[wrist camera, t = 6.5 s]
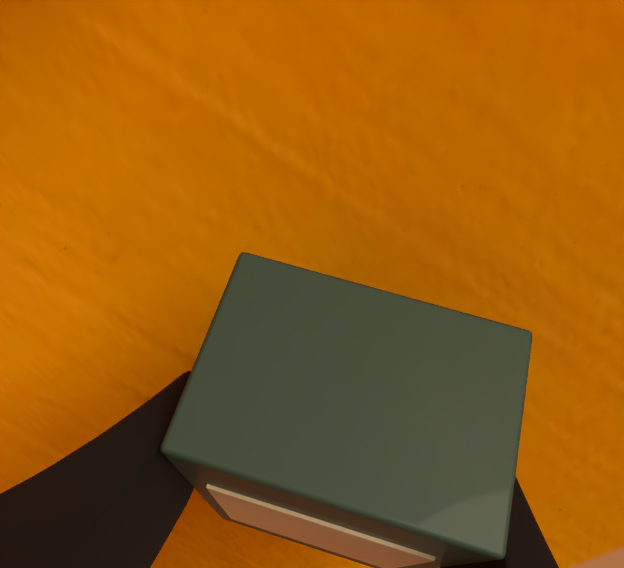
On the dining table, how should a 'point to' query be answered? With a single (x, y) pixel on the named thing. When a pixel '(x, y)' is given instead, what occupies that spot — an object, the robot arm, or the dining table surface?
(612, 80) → the dining table surface
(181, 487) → the robot arm
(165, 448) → the carton
